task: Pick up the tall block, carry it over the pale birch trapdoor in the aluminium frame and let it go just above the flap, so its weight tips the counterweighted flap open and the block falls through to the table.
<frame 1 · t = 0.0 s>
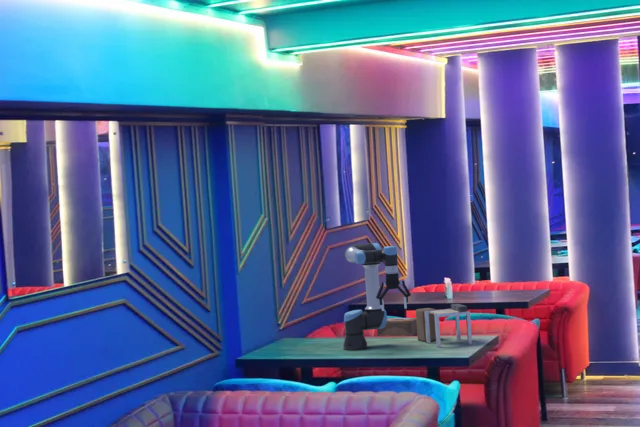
hand: (394, 309, 552), 28 cm above the table, fingers open, 13 cm apart
tissue box cover: (399, 334, 645), on the table
trapdoor: (448, 309, 590), point 21 cm above the table, hinge at 0.0°
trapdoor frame: (448, 343, 590), on the table
block: (427, 340, 609), on the table
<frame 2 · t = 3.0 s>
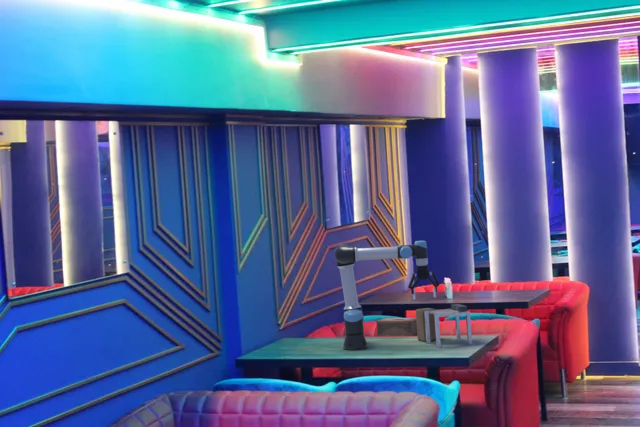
hand: (424, 298, 608), 27 cm above the table, fingers open, 13 cm apart
nothing on the table moved.
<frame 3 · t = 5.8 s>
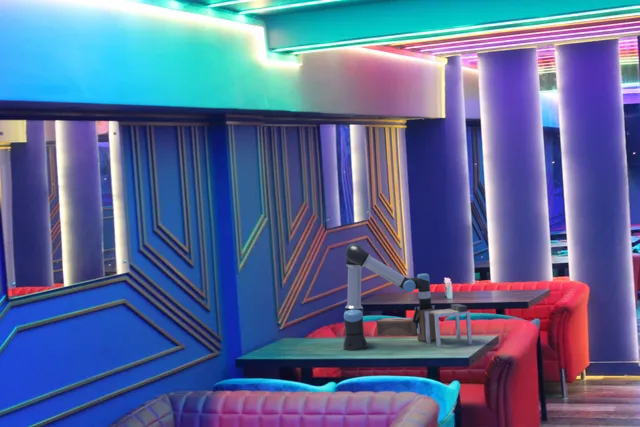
hand: (427, 332, 609), 5 cm above the table, fingers closed on block, 11 cm apart
block: (427, 340, 609), on the table, touching gripper
everything else where it was.
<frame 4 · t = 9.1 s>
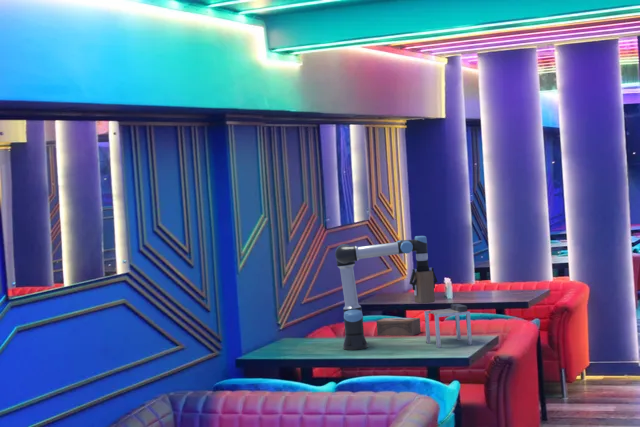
hand: (424, 294, 609), 29 cm above the table, fingers closed on block, 11 cm apart
block: (424, 302, 609), point 24 cm above the table, touching gripper
everything else where it was.
when the fingers open (28 cm above the table, at t = 12.8 s): block drops 3 cm, resting on trapdoor.
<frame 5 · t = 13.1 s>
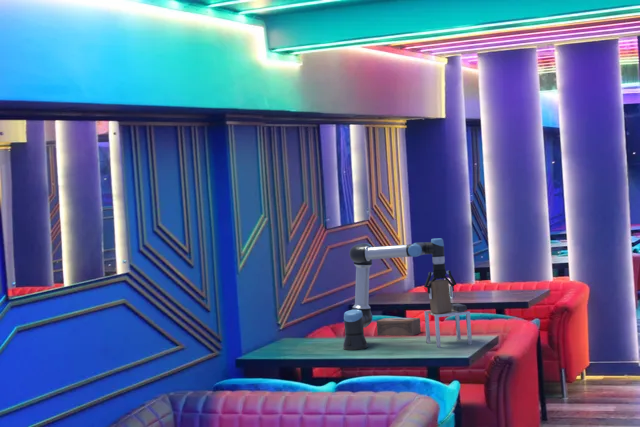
hand: (441, 297, 589), 29 cm above the table, fingers open, 13 cm apart
trapdoor: (448, 310, 590), point 21 cm above the table, hinge at -4.2°, touching block
block: (441, 313, 589), point 19 cm above the table, touching gripper, trapdoor
everything else where it was.
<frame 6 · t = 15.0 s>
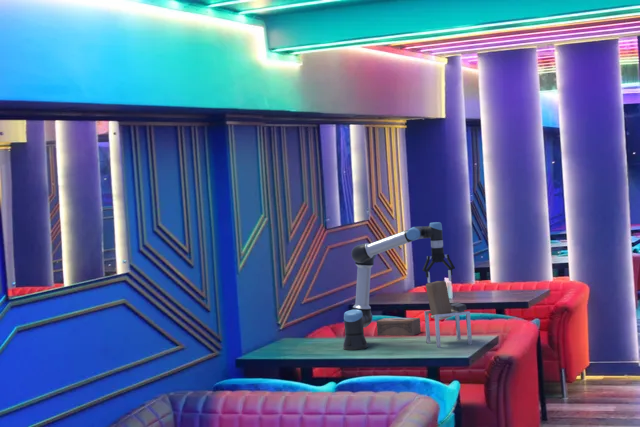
hand: (439, 281, 589), 39 cm above the table, fingers open, 13 cm apart
trapdoor: (448, 311, 590), point 20 cm above the table, hinge at -11.9°, touching block
block: (441, 314, 589), point 18 cm above the table, touching trapdoor
everything else where it was.
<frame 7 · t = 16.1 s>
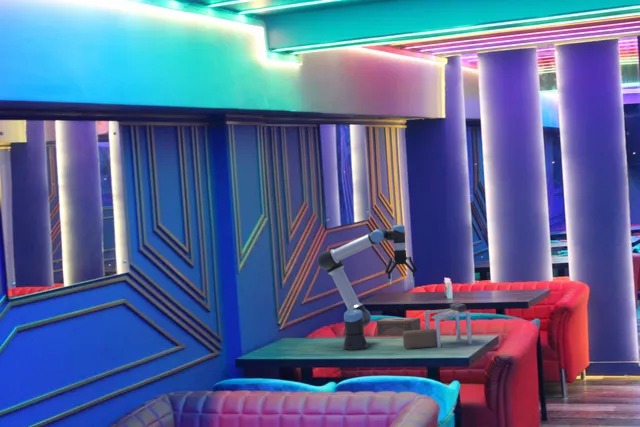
hand: (401, 283, 600), 38 cm above the table, fingers open, 13 cm apart
trapdoor: (448, 311, 590), point 20 cm above the table, hinge at -14.7°
block: (436, 337, 585), point 5 cm above the table
everything else where it was.
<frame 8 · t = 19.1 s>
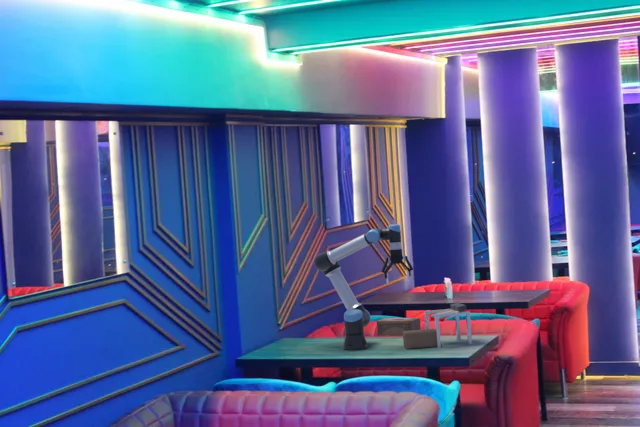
hand: (398, 282, 601), 39 cm above the table, fingers open, 13 cm apart
trapdoor: (448, 310, 590), point 20 cm above the table, hinge at -9.1°
everything else where it was.
at the end: block point 5.0 cm above the table; the gripper is holding nothing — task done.
